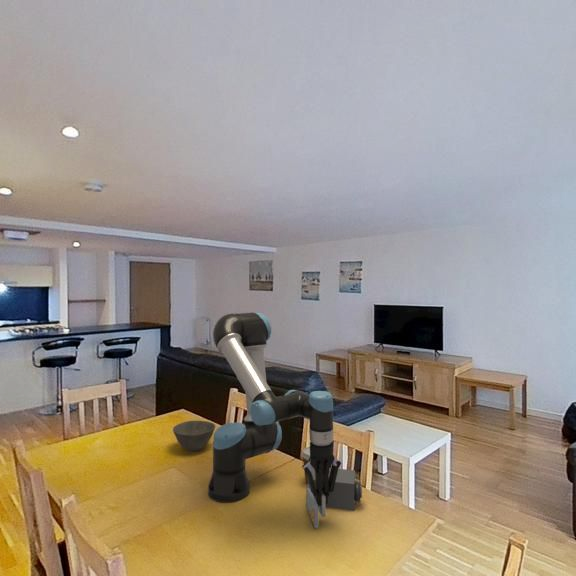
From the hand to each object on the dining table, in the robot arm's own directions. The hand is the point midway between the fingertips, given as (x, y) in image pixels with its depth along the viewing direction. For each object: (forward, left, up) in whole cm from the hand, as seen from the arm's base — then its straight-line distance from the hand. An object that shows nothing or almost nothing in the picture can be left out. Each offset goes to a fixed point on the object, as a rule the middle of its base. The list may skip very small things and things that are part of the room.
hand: (322, 514), depth 127 cm
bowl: (-63, +43, -3) cm, 77 cm away
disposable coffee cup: (-6, +24, -3) cm, 25 cm away
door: (-4, +1, -2) cm, 5 cm away
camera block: (+3, +13, -2) cm, 14 cm away
